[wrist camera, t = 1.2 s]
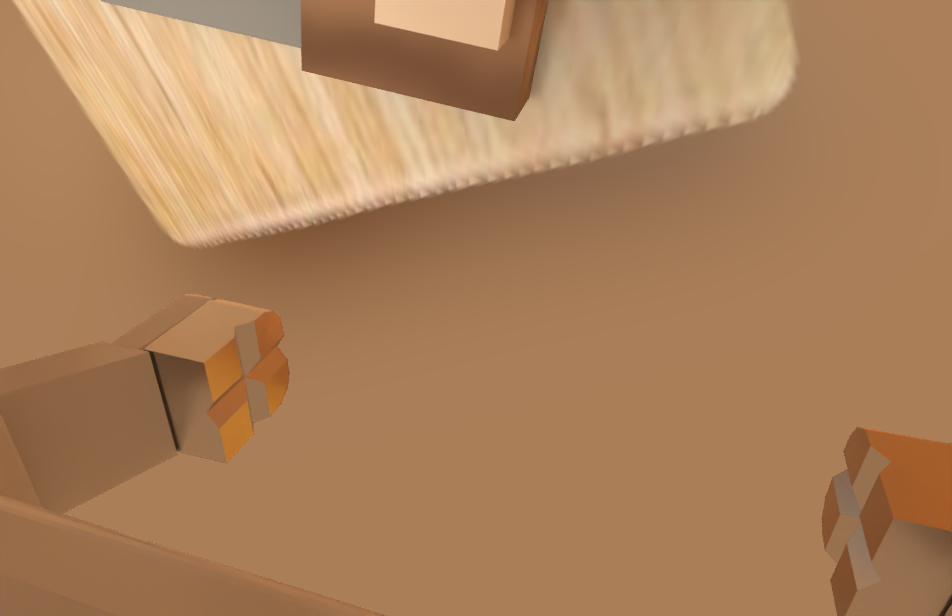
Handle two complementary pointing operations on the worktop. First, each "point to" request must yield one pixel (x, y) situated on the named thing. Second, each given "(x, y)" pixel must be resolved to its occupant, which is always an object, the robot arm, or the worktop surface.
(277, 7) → the mat
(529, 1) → the brown flat wooden block
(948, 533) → the robot arm
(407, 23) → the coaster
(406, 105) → the worktop surface
